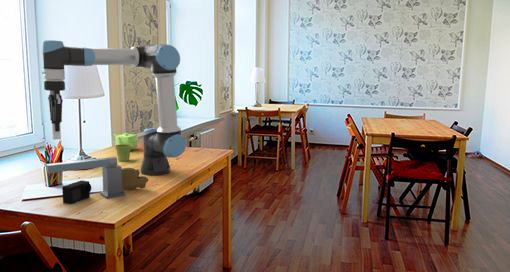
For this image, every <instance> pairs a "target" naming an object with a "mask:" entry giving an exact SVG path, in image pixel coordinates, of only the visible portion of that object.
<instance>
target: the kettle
mask: <svg viewBox="0 0 510 272" xmlns="http://www.w3.org/2000/svg"><path fill="white" fill-rule="evenodd" d="M112 135H113V136H114V137H115V145H119V144H130V145H132V147H131V150H130V151H134V150H135V148H137V147H138V140H139V137H138V135H137V134H130V133H128V132H124V133H121V134H115V133H114V134H113V133H112Z"/></svg>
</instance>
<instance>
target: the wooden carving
mask: <svg viewBox="0 0 510 272" xmlns="http://www.w3.org/2000/svg"><path fill="white" fill-rule="evenodd" d="M121 169H122V190H124V191H132V190H135V189H136V190H137V188H139V189H146V186H147V183H148V182H149V178H148V177H146V176H145V175H144V176H143V175H140V174H141V171H140V169H135V168H133V167H123V168H122V167H121Z"/></svg>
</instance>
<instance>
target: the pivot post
mask: <svg viewBox="0 0 510 272" xmlns="http://www.w3.org/2000/svg"><path fill="white" fill-rule="evenodd" d="M101 168H102V169H101V170H102V190H101V191H99V194H100V195H101V196H103V197H104V198H105V199H111V198H112V199H113V198H118V197H123V196H124V197H125V196H126V192H124V191H123V189H122V166H121V165H120V164H117V165H116V166H106V167H101Z"/></svg>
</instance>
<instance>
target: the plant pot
mask: <svg viewBox="0 0 510 272" xmlns="http://www.w3.org/2000/svg"><path fill="white" fill-rule="evenodd" d="M114 147H115V150H116V155H117V156H116V157H117V162H118V161H119V162H128V161H130V157H131V151H132V150H131V147H132V145H130V144H119V145H116V144H115V145H114Z"/></svg>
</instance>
